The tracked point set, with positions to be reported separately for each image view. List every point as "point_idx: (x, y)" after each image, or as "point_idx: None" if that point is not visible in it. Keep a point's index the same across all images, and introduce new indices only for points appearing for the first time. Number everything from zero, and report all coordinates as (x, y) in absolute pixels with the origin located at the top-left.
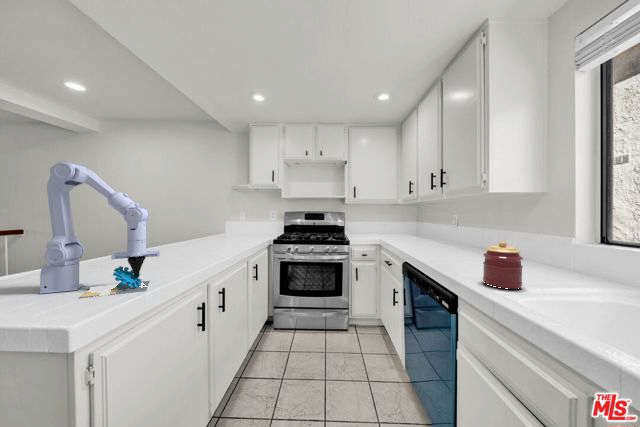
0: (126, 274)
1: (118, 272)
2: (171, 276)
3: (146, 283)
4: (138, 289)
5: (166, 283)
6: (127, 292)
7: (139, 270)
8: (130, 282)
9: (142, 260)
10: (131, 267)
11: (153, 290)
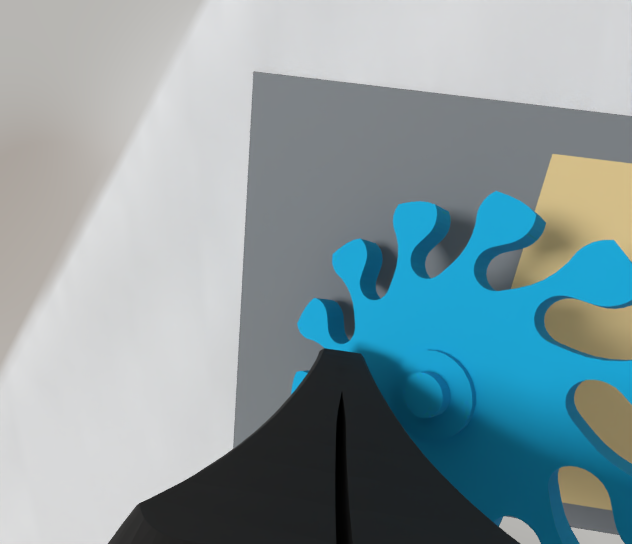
0: (468, 425)
1: (606, 452)
2: (69, 512)
3: (257, 391)
4: (328, 193)
5: (78, 294)
6: (439, 121)
7: (291, 394)
8: (410, 274)
9: (147, 518)
10: (427, 459)
11: (178, 54)
